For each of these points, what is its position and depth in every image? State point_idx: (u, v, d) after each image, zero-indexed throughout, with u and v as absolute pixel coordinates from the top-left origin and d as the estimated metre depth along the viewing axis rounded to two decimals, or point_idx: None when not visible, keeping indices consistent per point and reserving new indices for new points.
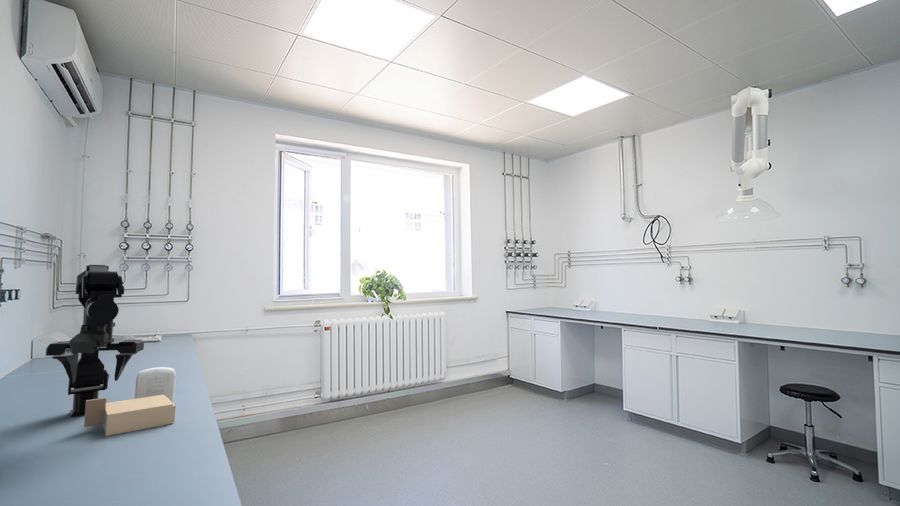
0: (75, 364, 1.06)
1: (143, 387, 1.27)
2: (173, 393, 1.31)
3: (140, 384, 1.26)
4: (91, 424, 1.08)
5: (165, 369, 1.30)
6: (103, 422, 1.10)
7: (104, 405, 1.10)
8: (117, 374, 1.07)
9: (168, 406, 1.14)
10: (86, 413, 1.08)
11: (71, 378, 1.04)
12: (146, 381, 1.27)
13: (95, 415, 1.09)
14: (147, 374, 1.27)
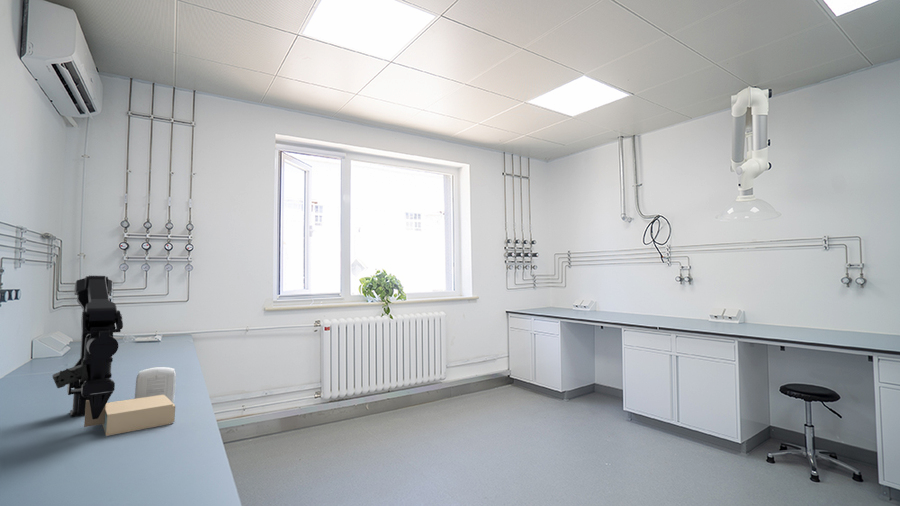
0: None
1: (143, 387, 1.27)
2: (173, 393, 1.31)
3: (140, 384, 1.26)
4: (91, 424, 1.08)
5: (165, 369, 1.30)
6: (103, 422, 1.10)
7: None
8: (91, 413, 1.05)
9: (168, 406, 1.14)
10: (86, 413, 1.08)
11: None
12: (146, 381, 1.27)
13: None
14: (147, 374, 1.27)
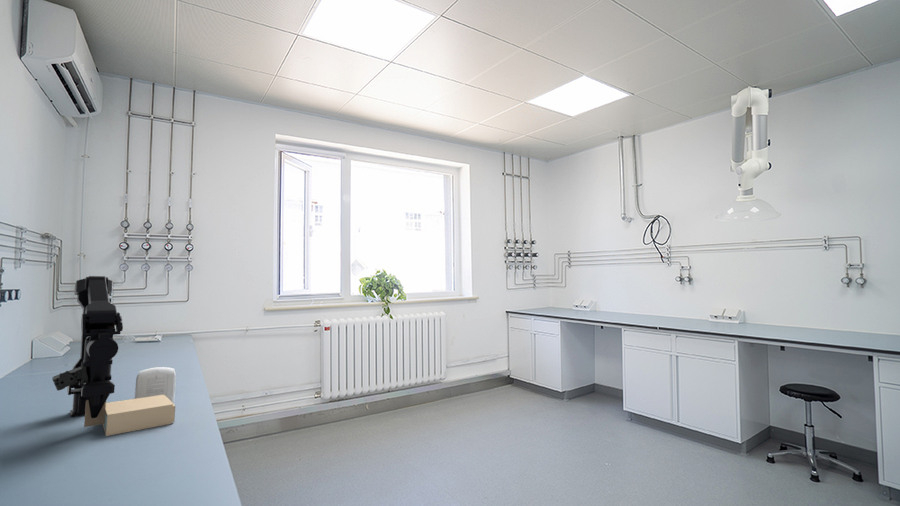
0: None
1: (143, 387, 1.27)
2: (173, 393, 1.31)
3: (140, 384, 1.26)
4: (91, 424, 1.08)
5: (165, 369, 1.30)
6: (103, 422, 1.10)
7: (104, 405, 1.10)
8: (90, 412, 1.08)
9: (168, 406, 1.14)
10: (86, 413, 1.08)
11: None
12: (146, 381, 1.27)
13: None
14: (147, 374, 1.27)
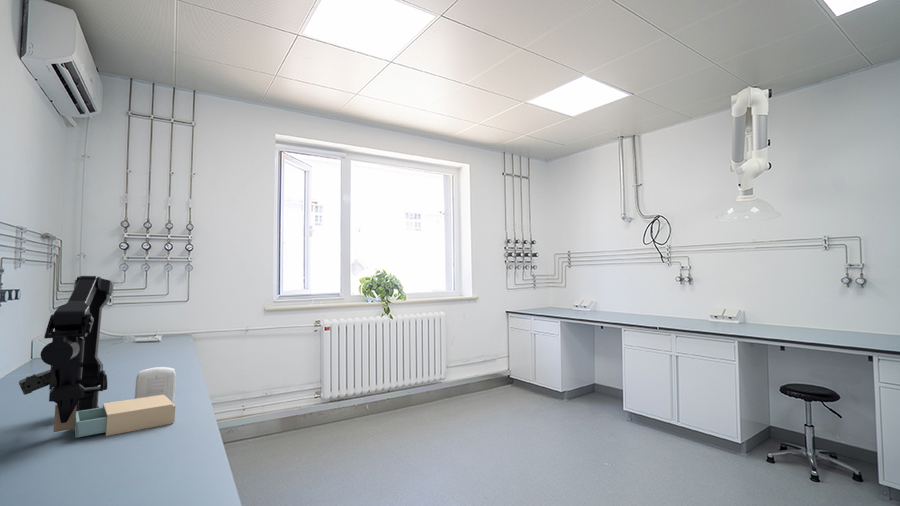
0: None
1: (143, 387, 1.27)
2: (173, 393, 1.31)
3: (140, 384, 1.26)
4: (60, 429, 1.04)
5: (165, 369, 1.30)
6: (73, 427, 1.06)
7: (75, 409, 1.06)
8: None
9: (168, 406, 1.14)
10: (55, 418, 1.04)
11: None
12: (146, 381, 1.27)
13: None
14: (147, 374, 1.27)
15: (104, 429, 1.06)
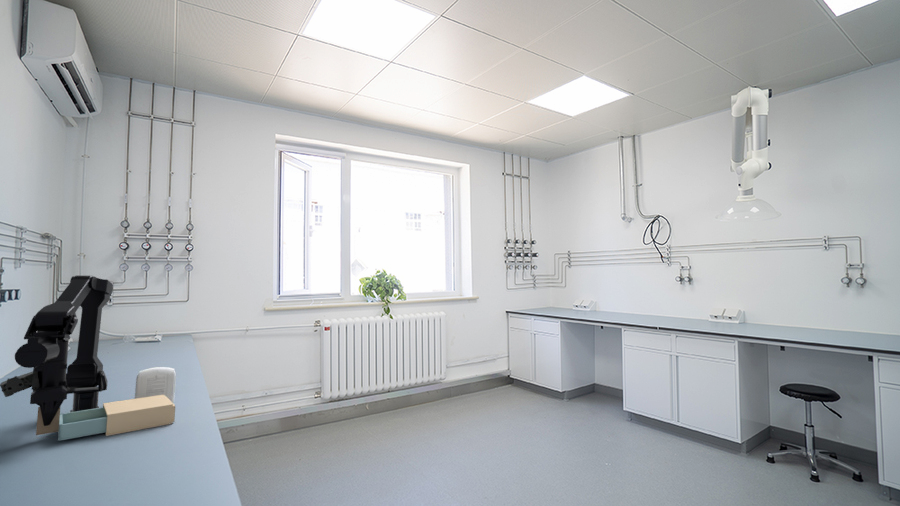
0: None
1: (143, 387, 1.27)
2: (173, 393, 1.31)
3: (140, 384, 1.26)
4: (43, 432, 1.02)
5: (165, 369, 1.30)
6: (57, 430, 1.04)
7: (58, 412, 1.04)
8: None
9: (168, 406, 1.14)
10: (38, 420, 1.02)
11: None
12: (146, 381, 1.27)
13: None
14: (147, 374, 1.27)
15: (88, 432, 1.04)
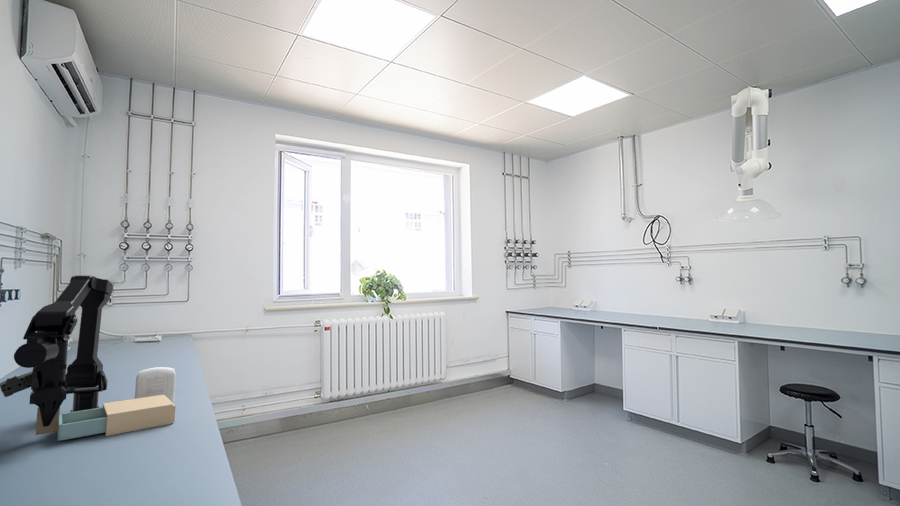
0: None
1: (143, 387, 1.27)
2: (173, 393, 1.31)
3: (140, 384, 1.26)
4: (42, 432, 1.02)
5: (165, 369, 1.30)
6: (56, 430, 1.04)
7: (58, 412, 1.04)
8: (42, 420, 1.01)
9: (168, 406, 1.14)
10: (37, 421, 1.01)
11: None
12: (146, 381, 1.27)
13: None
14: (147, 374, 1.27)
15: (88, 432, 1.04)
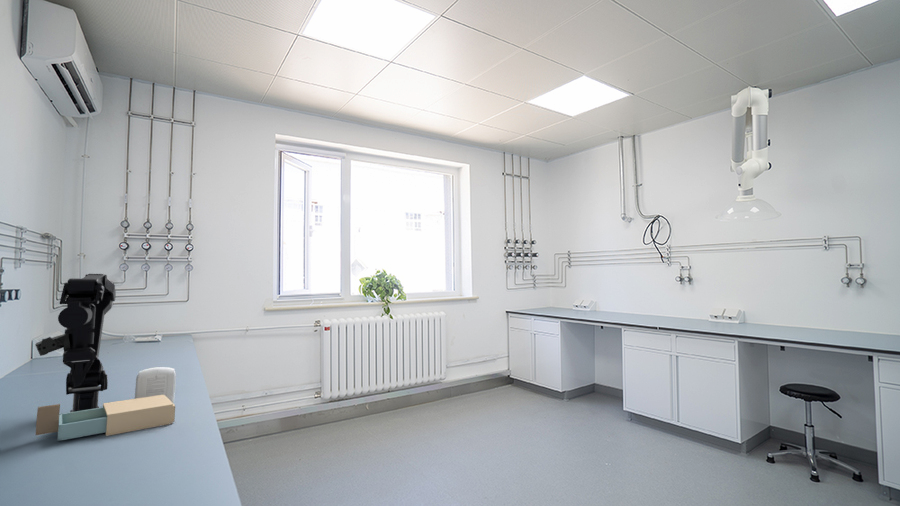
0: None
1: (143, 387, 1.27)
2: (173, 393, 1.31)
3: (140, 384, 1.26)
4: (42, 432, 1.02)
5: (165, 369, 1.30)
6: (56, 430, 1.04)
7: (58, 412, 1.04)
8: (73, 380, 1.08)
9: (168, 406, 1.14)
10: (37, 421, 1.01)
11: None
12: (146, 381, 1.27)
13: (48, 423, 1.03)
14: (147, 374, 1.27)
15: (88, 432, 1.04)
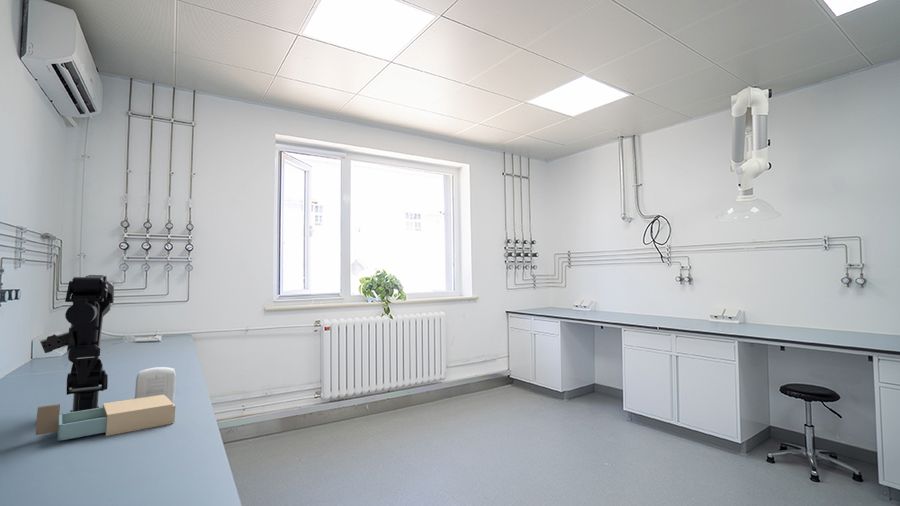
0: None
1: (143, 387, 1.27)
2: (173, 393, 1.31)
3: (140, 384, 1.26)
4: (42, 432, 1.02)
5: (165, 369, 1.30)
6: (56, 430, 1.04)
7: (58, 412, 1.04)
8: (78, 377, 1.09)
9: (168, 406, 1.14)
10: (37, 421, 1.01)
11: None
12: (146, 381, 1.27)
13: (48, 423, 1.03)
14: (147, 374, 1.27)
15: (88, 432, 1.04)
